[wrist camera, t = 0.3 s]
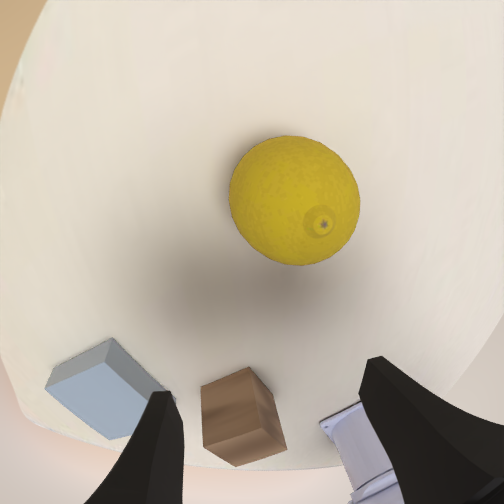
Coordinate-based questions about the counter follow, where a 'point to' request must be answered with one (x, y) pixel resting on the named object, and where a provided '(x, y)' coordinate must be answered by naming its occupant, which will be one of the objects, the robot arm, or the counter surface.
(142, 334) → the counter surface
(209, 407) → the walnut block
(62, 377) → the blue-gray block
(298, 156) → the lemon
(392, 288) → the counter surface
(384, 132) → the counter surface
